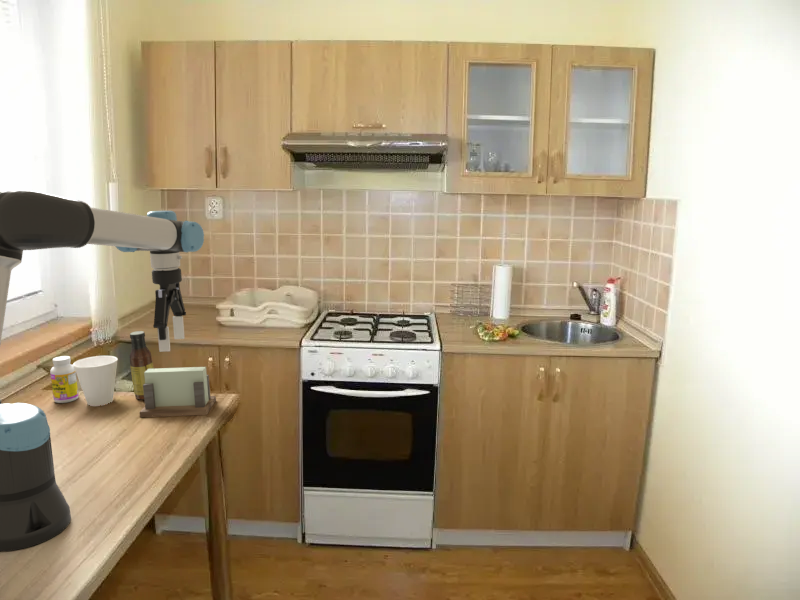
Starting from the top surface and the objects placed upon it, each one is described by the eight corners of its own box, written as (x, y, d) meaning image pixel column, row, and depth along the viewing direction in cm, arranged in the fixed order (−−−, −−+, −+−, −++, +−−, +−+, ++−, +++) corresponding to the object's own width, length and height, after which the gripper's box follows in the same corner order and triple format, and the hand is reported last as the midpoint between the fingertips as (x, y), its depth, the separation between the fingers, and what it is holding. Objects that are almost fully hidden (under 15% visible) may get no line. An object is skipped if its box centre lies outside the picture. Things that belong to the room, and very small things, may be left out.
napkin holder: (206, 414, 179) (204, 385, 178) (140, 417, 179) (136, 387, 177) (215, 400, 190) (213, 372, 188) (153, 402, 189) (150, 374, 188)
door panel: (205, 404, 183) (202, 370, 181) (147, 406, 182) (144, 372, 180) (208, 400, 186) (206, 366, 184) (151, 402, 185) (148, 368, 183)
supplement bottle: (48, 402, 192) (43, 360, 189) (66, 395, 198) (61, 354, 195) (66, 404, 189) (61, 362, 187) (84, 397, 196) (79, 355, 193)
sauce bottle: (152, 391, 199) (146, 328, 195) (160, 397, 194) (153, 332, 190) (130, 396, 195) (123, 332, 191) (137, 402, 190) (130, 336, 186)
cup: (112, 392, 199) (107, 353, 197) (129, 401, 191) (124, 360, 189) (71, 402, 191) (66, 362, 189) (87, 412, 183) (82, 369, 180)
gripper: (166, 274, 164) (172, 356, 168) (192, 262, 189) (197, 333, 193) (135, 275, 164) (143, 357, 168) (166, 262, 189) (172, 334, 192)
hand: (172, 344), depth 180 cm, fingers open, 13 cm apart
